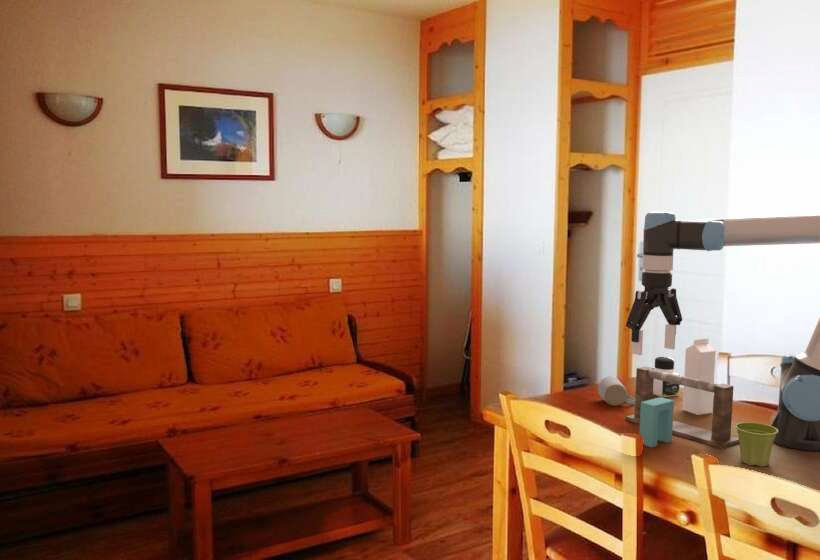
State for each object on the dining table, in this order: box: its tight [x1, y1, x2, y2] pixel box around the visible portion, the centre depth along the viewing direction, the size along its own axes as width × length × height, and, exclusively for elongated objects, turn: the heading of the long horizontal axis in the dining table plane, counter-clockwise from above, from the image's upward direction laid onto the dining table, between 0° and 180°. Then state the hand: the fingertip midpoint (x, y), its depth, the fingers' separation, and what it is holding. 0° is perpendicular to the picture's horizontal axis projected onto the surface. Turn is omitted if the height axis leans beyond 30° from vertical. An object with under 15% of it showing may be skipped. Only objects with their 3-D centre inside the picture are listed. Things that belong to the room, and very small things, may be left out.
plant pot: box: [735, 421, 778, 467], centre depth 182 cm, size 9×9×9 cm
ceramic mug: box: [597, 376, 635, 407], centre depth 233 cm, size 11×8×8 cm
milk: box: [682, 338, 717, 416], centre depth 224 cm, size 6×6×22 cm
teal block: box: [638, 396, 675, 449], centre depth 196 cm, size 8×4×11 cm, turn 127°
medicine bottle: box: [653, 356, 681, 398], centre depth 244 cm, size 7×7×12 cm
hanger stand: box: [625, 365, 739, 449], centre depth 205 cm, size 30×8×15 cm, turn 37°
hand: (653, 351), depth 198 cm, fingers open, 13 cm apart
